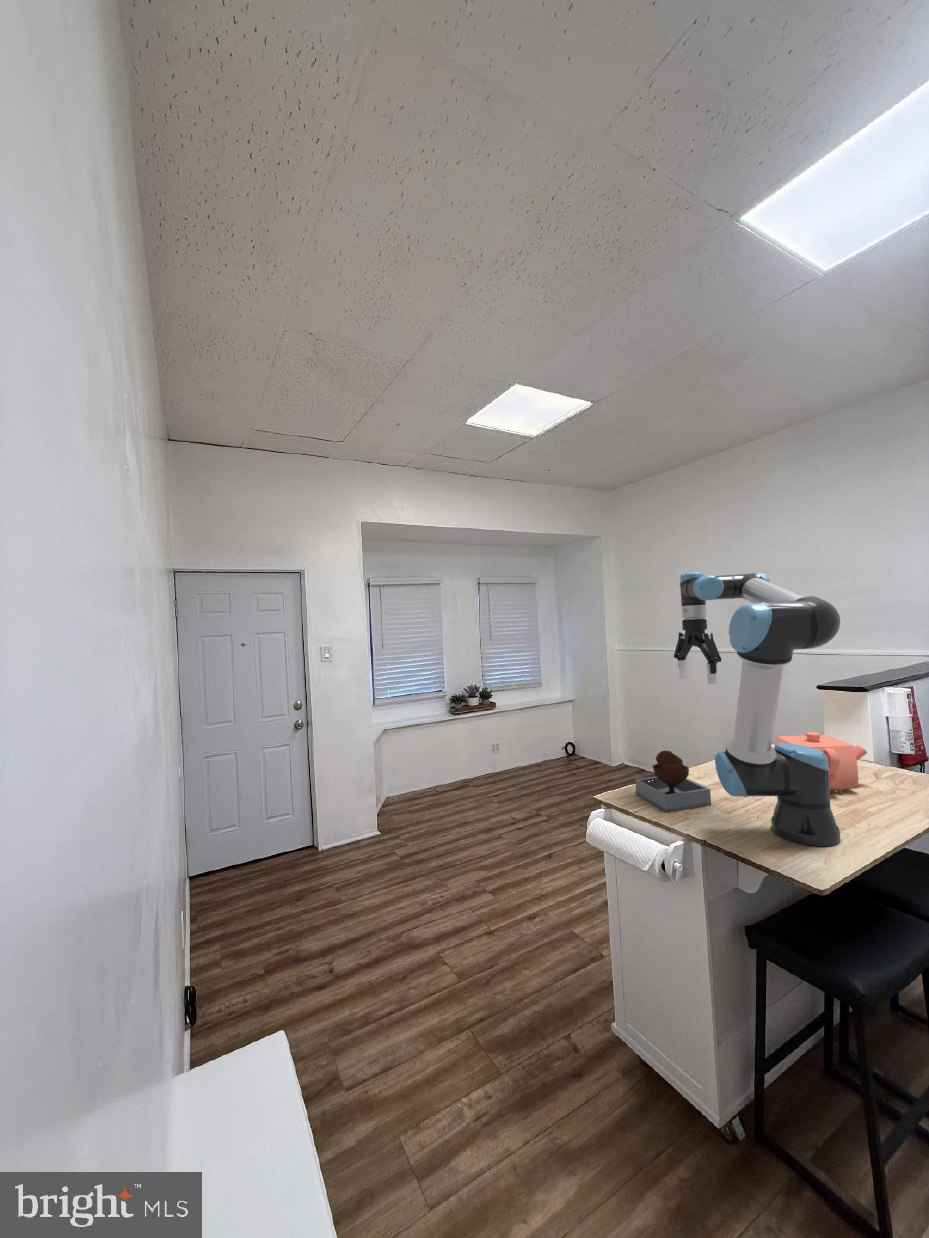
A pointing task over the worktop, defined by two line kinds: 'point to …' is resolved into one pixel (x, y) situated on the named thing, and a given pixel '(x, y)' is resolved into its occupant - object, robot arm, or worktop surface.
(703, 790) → the tray
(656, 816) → the worktop surface
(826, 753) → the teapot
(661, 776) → the ice cream bowl
